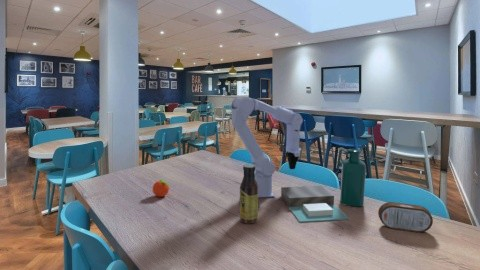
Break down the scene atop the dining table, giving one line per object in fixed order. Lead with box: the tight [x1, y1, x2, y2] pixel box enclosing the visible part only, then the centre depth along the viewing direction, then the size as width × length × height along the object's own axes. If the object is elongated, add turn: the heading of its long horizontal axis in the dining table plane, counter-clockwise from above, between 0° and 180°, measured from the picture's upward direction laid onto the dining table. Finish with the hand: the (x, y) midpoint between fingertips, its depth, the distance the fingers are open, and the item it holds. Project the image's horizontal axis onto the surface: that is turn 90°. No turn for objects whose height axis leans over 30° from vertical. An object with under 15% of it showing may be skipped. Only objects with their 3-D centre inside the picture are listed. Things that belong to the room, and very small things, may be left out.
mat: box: [288, 204, 350, 223], centre depth 99 cm, size 18×12×1 cm, turn 96°
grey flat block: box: [280, 185, 335, 208], centre depth 110 cm, size 18×12×4 cm, turn 96°
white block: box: [303, 203, 333, 216], centre depth 99 cm, size 9×6×2 cm, turn 97°
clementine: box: [152, 179, 170, 197], centre depth 116 cm, size 8×7×7 cm
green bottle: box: [339, 146, 367, 208], centre depth 107 cm, size 10×8×22 cm
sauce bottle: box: [239, 163, 259, 224], centre depth 92 cm, size 7×6×20 cm
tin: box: [377, 201, 434, 233], centre depth 86 cm, size 15×3×8 cm, turn 70°
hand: (292, 168), depth 122 cm, fingers closed
